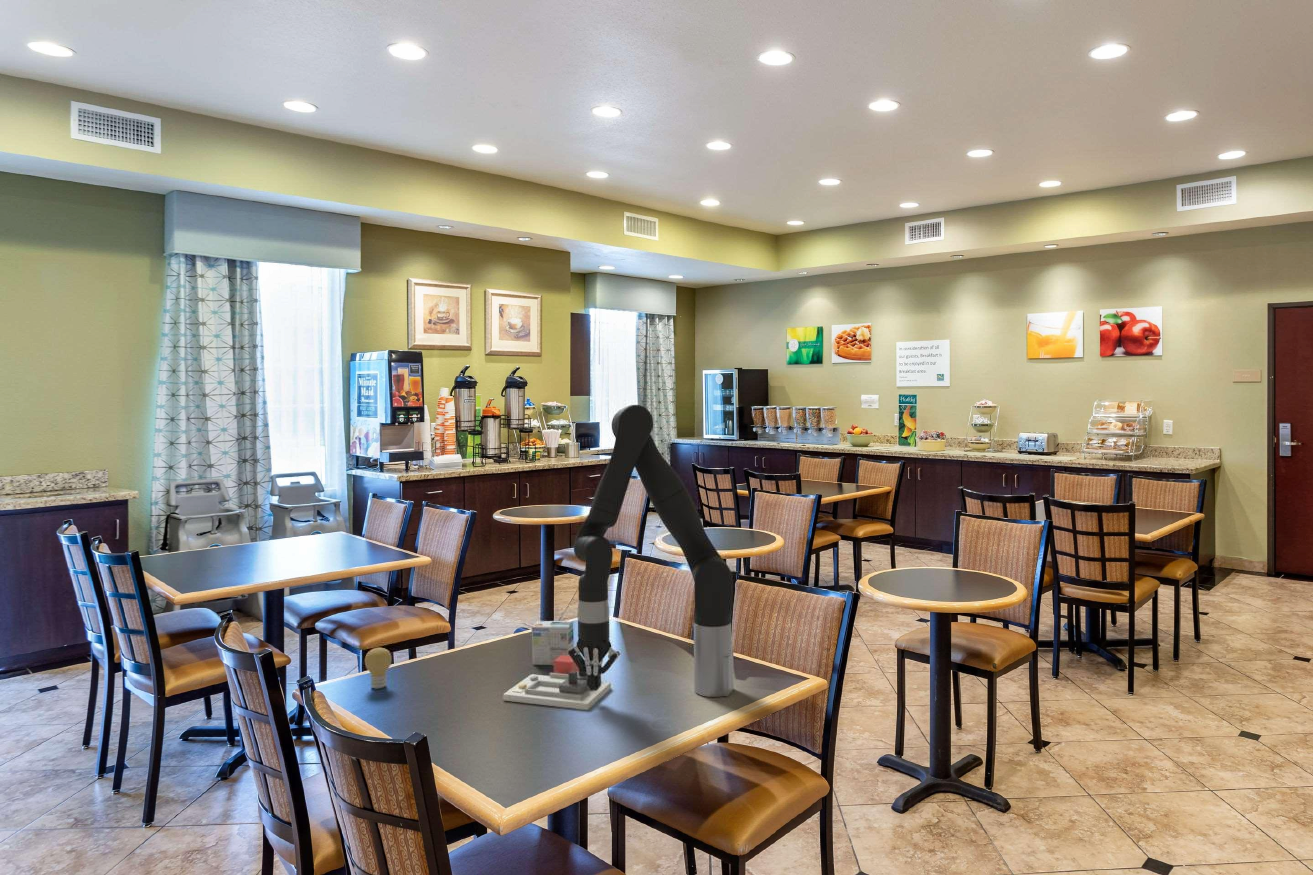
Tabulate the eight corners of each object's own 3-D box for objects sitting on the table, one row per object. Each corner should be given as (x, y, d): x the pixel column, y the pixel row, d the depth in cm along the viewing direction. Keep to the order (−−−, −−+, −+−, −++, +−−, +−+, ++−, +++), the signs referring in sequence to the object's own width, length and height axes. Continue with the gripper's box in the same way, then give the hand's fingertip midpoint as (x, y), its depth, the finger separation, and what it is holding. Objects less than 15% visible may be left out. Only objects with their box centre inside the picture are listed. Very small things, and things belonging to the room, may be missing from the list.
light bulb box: (574, 658, 226) (574, 620, 226) (569, 666, 220) (569, 626, 219) (537, 657, 227) (536, 619, 227) (531, 665, 221) (530, 626, 220)
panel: (610, 688, 202) (610, 662, 202) (587, 709, 188) (587, 681, 187) (531, 679, 209) (531, 654, 208) (503, 700, 194) (502, 673, 194)
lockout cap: (579, 675, 212) (579, 656, 212) (571, 681, 207) (571, 662, 207) (561, 673, 213) (561, 654, 213) (553, 679, 209) (553, 660, 208)
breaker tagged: (586, 690, 196) (586, 669, 196) (578, 697, 191) (578, 676, 191) (567, 688, 198) (567, 667, 197) (559, 695, 193) (558, 674, 193)
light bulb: (360, 689, 203) (359, 649, 203) (379, 681, 209) (378, 643, 208) (378, 693, 200) (377, 653, 200) (397, 684, 206) (396, 646, 205)
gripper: (625, 615, 193) (625, 686, 194) (574, 611, 197) (575, 681, 198) (613, 623, 186) (614, 697, 187) (561, 619, 190) (562, 691, 191)
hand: (594, 689), depth 193 cm, fingers closed
